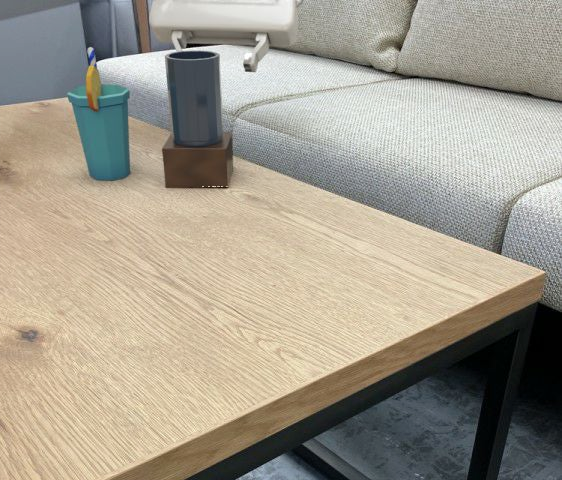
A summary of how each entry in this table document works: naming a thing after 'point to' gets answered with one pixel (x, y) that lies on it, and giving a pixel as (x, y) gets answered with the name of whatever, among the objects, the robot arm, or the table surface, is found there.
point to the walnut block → (198, 163)
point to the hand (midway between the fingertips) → (215, 68)
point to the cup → (102, 124)
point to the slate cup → (194, 97)
